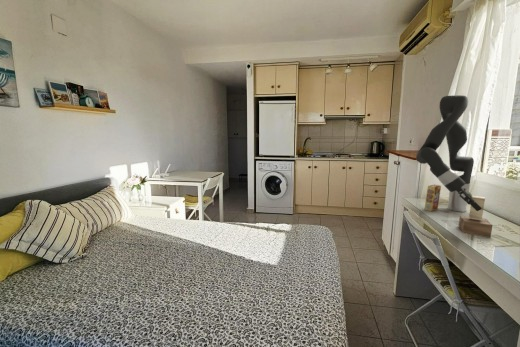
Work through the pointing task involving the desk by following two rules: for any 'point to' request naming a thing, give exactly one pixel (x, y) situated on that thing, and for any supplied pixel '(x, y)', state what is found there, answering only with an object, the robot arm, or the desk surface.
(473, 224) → the block
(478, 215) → the birch block
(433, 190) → the candy box
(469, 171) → the robot arm
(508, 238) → the desk surface
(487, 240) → the desk surface
